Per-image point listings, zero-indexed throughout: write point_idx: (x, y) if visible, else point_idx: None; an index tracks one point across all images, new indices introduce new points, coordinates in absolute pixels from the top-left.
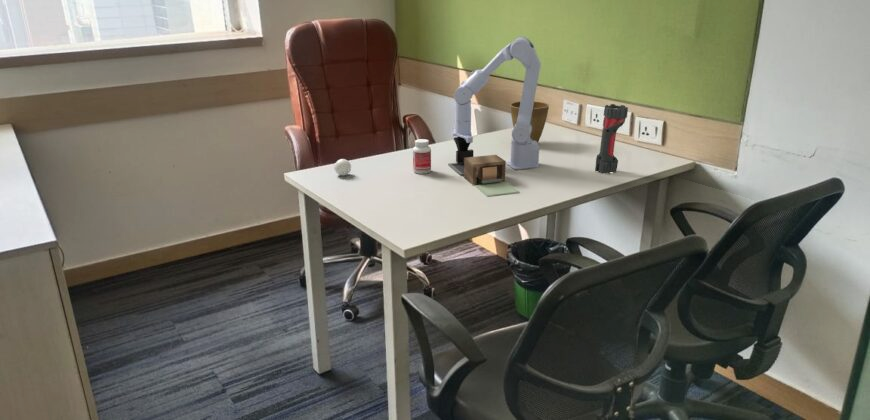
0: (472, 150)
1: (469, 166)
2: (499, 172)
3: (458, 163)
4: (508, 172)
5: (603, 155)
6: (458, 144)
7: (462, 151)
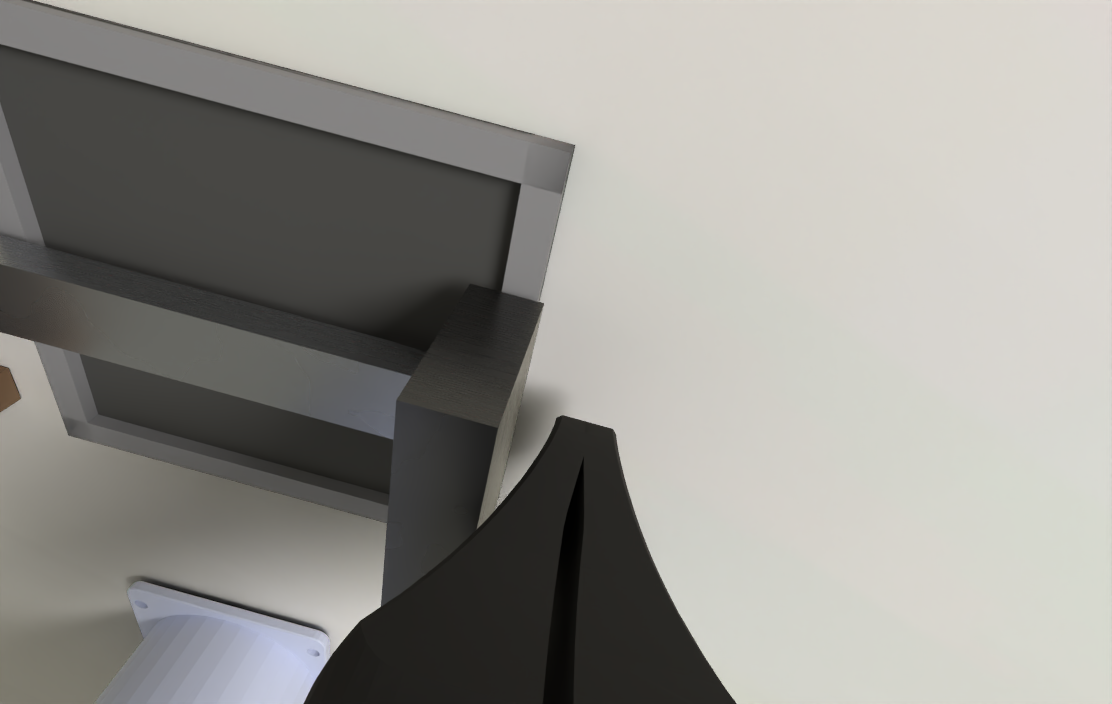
0: None
1: None
2: None
3: None
4: (82, 510)
5: None
6: (440, 592)
7: (398, 485)
